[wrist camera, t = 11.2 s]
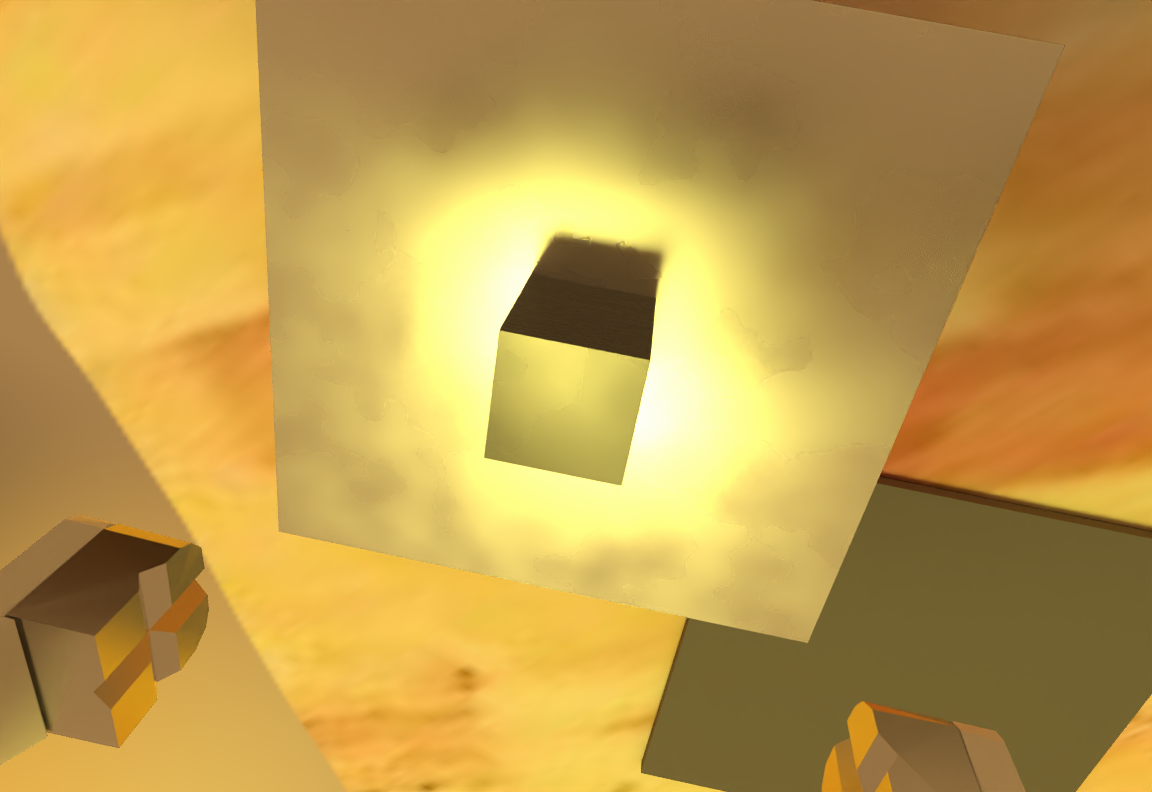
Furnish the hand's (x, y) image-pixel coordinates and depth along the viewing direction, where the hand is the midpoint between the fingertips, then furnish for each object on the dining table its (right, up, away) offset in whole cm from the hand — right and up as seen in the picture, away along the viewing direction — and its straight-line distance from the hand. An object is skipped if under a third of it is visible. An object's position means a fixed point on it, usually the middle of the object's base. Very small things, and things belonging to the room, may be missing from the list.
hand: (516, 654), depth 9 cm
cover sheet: (+1, +5, +10) cm, 11 cm away
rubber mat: (+14, -8, +22) cm, 27 cm away
